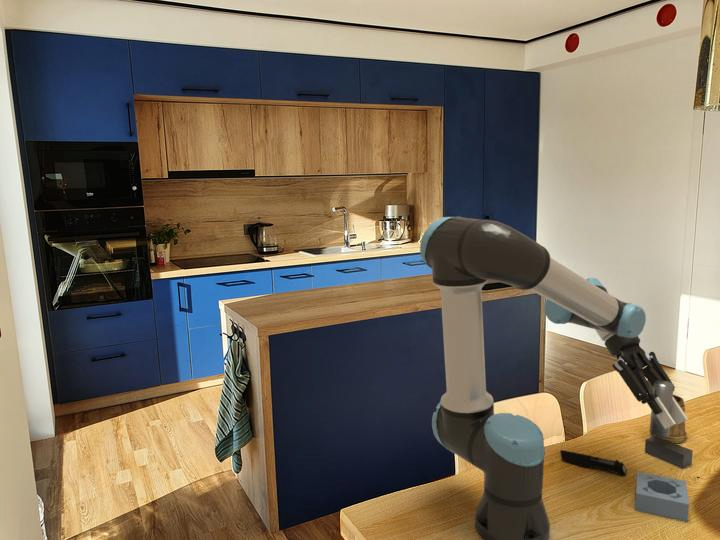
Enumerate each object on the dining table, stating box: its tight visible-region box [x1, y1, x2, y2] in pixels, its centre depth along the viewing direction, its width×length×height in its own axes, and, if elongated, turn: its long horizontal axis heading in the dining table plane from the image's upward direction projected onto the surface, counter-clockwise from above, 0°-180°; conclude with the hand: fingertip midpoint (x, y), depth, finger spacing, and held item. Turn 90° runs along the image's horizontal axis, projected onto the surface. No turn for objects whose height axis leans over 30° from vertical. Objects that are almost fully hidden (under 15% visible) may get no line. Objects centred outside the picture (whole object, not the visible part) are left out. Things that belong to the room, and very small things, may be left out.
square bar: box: [644, 435, 694, 470], centre depth 146 cm, size 10×4×4 cm, turn 32°
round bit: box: [649, 380, 675, 437], centre depth 131 cm, size 4×4×12 cm
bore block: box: [634, 471, 690, 522], centre depth 127 cm, size 10×10×4 cm
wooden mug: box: [646, 379, 688, 444], centre depth 156 cm, size 9×14×18 cm, turn 113°
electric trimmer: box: [559, 449, 627, 477], centre depth 144 cm, size 4×16×3 cm, turn 60°
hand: (676, 423), depth 129 cm, fingers closed on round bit, 4 cm apart
